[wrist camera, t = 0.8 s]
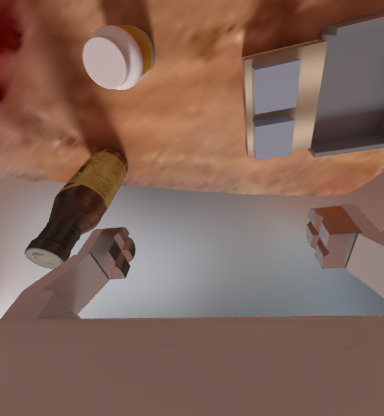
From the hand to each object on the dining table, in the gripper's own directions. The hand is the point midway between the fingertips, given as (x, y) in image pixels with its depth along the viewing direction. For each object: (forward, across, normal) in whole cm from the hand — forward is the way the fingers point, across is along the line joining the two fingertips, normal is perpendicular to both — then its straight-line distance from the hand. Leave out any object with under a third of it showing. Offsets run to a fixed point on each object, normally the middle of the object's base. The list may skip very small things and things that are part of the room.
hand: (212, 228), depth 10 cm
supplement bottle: (+25, +9, -8) cm, 28 cm away
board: (+25, -8, +1) cm, 27 cm away
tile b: (+23, -7, +4) cm, 24 cm away
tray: (+25, -18, +1) cm, 31 cm away
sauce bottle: (+26, +19, +6) cm, 33 cm away
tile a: (+22, -7, -2) cm, 23 cm away
